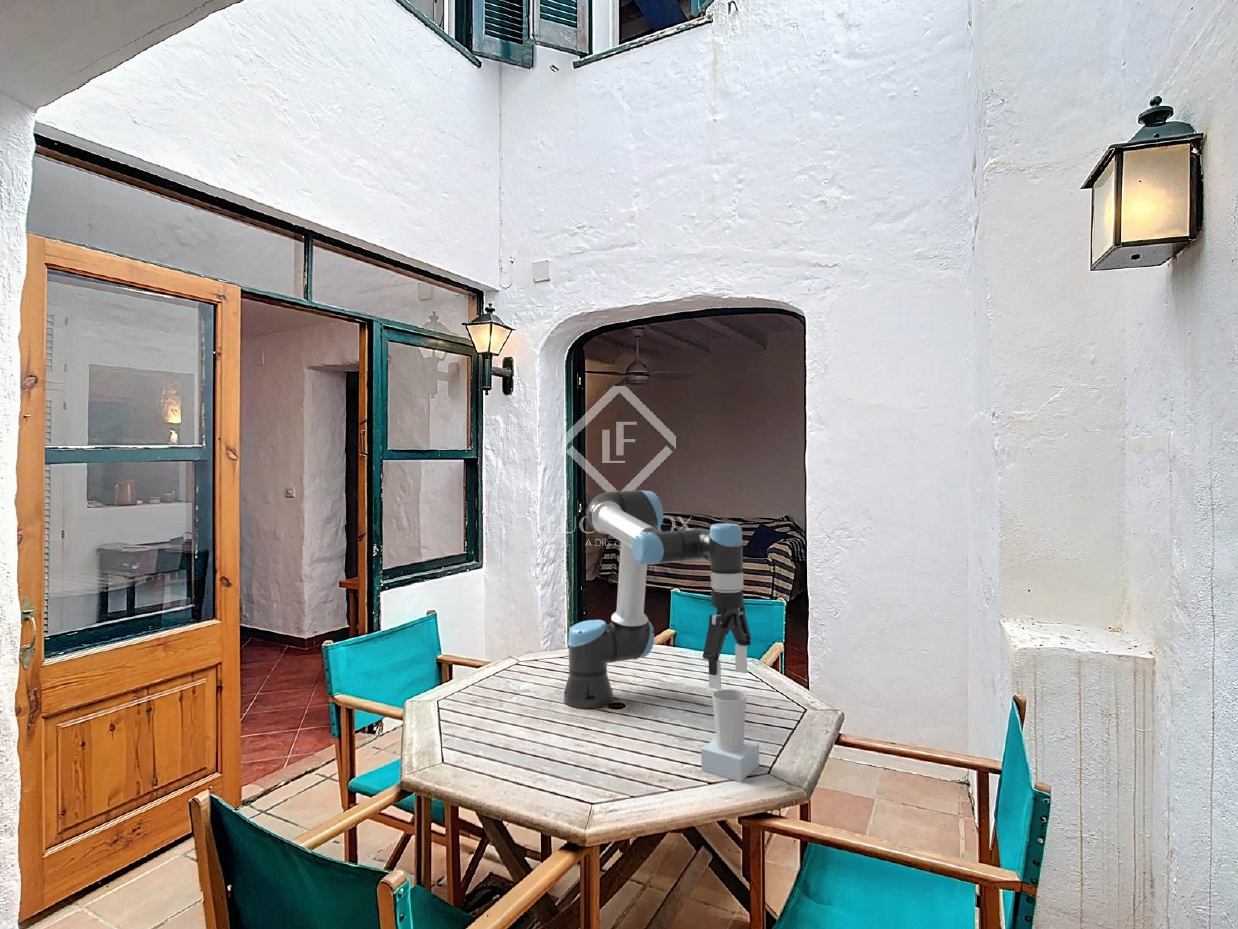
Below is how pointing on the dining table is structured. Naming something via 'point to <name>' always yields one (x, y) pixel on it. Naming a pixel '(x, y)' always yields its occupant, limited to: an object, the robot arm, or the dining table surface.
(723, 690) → the cup
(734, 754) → the pedestal block
